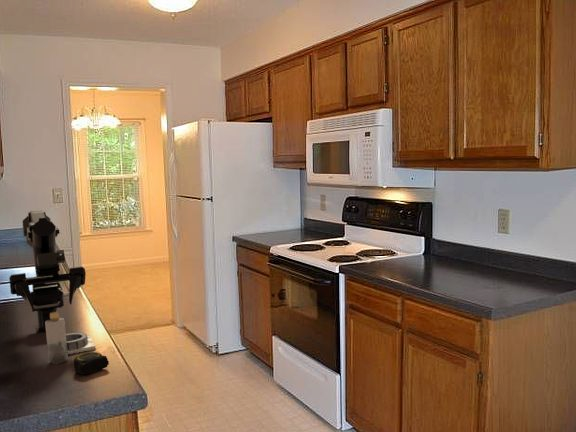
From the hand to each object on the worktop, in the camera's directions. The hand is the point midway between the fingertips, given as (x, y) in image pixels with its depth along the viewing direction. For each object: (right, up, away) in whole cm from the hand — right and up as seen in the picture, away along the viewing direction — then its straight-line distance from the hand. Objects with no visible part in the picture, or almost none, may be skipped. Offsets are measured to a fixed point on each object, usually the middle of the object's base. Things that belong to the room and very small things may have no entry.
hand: (52, 306), depth 144 cm
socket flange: (+3, -12, +5) cm, 13 cm away
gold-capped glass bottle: (+4, -13, -5) cm, 14 cm away
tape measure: (+15, -14, -12) cm, 24 cm away
